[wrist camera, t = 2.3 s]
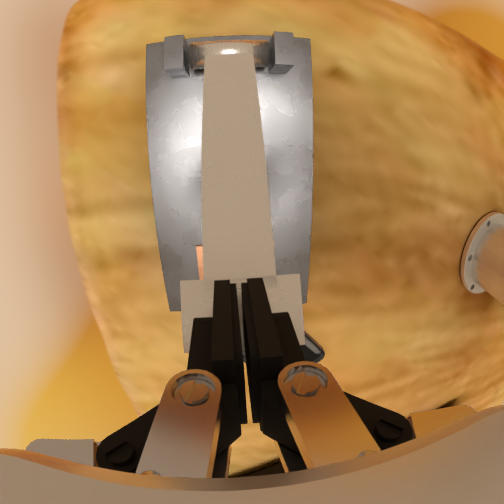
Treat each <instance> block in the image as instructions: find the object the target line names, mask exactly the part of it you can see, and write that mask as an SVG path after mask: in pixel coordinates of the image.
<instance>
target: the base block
mask: <svg viewBox="0 0 504 504" xmlns="http://www.w3.org/2000/svg"><path fill="white" fill-rule="evenodd" d="M223 40H267V41H268V45H269V61H268V66H267V67H255V72H256V81H257V89H258V97H259V106H260V114H261V123H262V132H263V141H264V150H265V160H266V169H267V179H268V189H269V200H270V210H271V221H272V232H273V243H274V255H275V267H276V275H287V274H300V283H301V295H302V304H304V303H306V302H307V289H308V276H309V261H310V244H311V223H312V195H313V89H312V64H311V45H310V39H307V38H296V37H293V33H288V32H274V33H273V35H272V36H252V35H243V36H214V37H200V38H189V39H185V37H184V35H176V36H169V37H165V42H159V43H153V44H147V45H146V114H147V136H148V152H149V166H150V177H151V188H152V197H153V206H154V215H155V223H156V230H157V238H158V245H159V251H160V258H161V264H162V270H163V276H164V282H165V287H166V293H167V298H168V303H169V308H170V311H181V295H180V281H181V280H203V279H204V275H203V248H202V198H201V158H202V110H203V84H204V69H194V70H191V68H190V61H189V46H190V43H194V42H206V41H223Z"/></svg>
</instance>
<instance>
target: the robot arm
mask: <svg viewBox="0 0 504 504" xmlns="http://www.w3.org/2000/svg"><path fill="white" fill-rule="evenodd" d="M460 274H461V280H462V283H463V285H464V287H465V288H466V289H467V290H468V291H470V292H471V293H474V294H479V293H482V292H484V291H486V292H488V293H489V294H490V295H491V296H492V297H494V298H495V299H496V300H497V301H498V302H500V303H501V304H502V305H503V306H504V214H502V213H500V212H491V213H489V214H487V215H485V216H484V217H483V218H482V219H481V220H480V221H479V222H478V223H477V225H476V226H475V227H474V229H473V231H472V232H471V234H470V236H469V238H468V240H467V243H466V245H465V248H464V251H463V255H462V260H461V271H460ZM241 294H242V314H243V334H244V349H245V359H246V368H247V376H248V385H249V394H250V402H251V411H252V419H253V423H260V430H261V431H263V434H265V435H267V436H268V437H270V438H272V439H273V440H274V444H275V447H276V450H277V453H278V455H279V458H280V460H281V463H282V466H283V468H284V471H285V473H280V474H272V475H263V476H251V477H236V478H228V472H229V464H230V456H231V444H232V443H233V442H234V441H235V440H236V439H238V438H239V437H240V436H241V424H247V409H246V394H245V378H244V363H243V351H242V341H241V330H240V320H239V309H238V298H237V287H236V283H231V284H230V280H214V296H213V317H201V318H194V319H193V326H192V334H191V342H190V350H189V358H188V367H187V370H186V371H182V372H180V373H178V374H176V375H174V376H173V377H172V378H171V379H170V380H169V382H168V383H167V385H166V387H165V390H164V393H163V395H162V398H161V401H160V404H159V405H157V406H156V407H154V408H153V409H151V410H150V411H148V412H146V413H145V414H143V415H142V416H140V417H139V418H137V419H136V420H134V421H132V422H131V423H129V424H128V425H126V426H124V427H123V428H121V429H119V430H118V431H116V432H114V433H113V434H111V435H109V436H108V437H106V438H105V439H104V440H103V441H101V442H95V441H94V439H84V440H62V439H61V440H60V439H37V440H34V441H33V442H31V443H30V444H29V445H28V446H27V447H26V450H20V449H4V448H2V449H0V504H504V405H500V406H495V407H491V408H487V409H484V410H481V411H479V412H476V411H475V410H474V409H473V408H472V407H470V406H467V405H456V406H452V407H446V408H441V409H435V410H429V411H422V412H415V413H410V414H409V416H408V417H404V416H402V415H400V414H398V413H396V412H394V411H391V410H388V409H386V408H383V407H380V406H378V405H375V404H373V403H370V402H368V401H365V400H363V399H360V398H358V397H355V396H353V395H351V394H348V393H346V392H344V391H342V389H341V387H340V386H339V384H338V383H337V381H336V380H335V378H334V377H333V375H332V373H331V372H330V371H329V370H328V369H327V368H326V367H324V366H322V365H321V364H318V363H315V362H309V361H305V358H304V356H303V353H302V350H301V347H300V344H299V341H298V338H297V335H296V332H295V329H294V326H293V324H292V321H291V318H290V315H289V313H288V312H279V313H272V311H271V308H270V304H269V300H268V296H267V292H266V289H265V285H264V281H263V278H247V283H241Z"/></svg>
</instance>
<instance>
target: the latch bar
mask: <svg viewBox="0 0 504 504" xmlns="http://www.w3.org/2000/svg"><path fill="white" fill-rule="evenodd" d="M189 61H190V68H191V70H194V69H204V84H203V110H202V158H201V198H202V248H203V275H204V279H203V280H181V281H180V295H181V315H182V332H183V346H184V353H189V350H190V342H191V334H192V326H193V319H194V318H201V317H213V296H214V280H230V284H231V283H236V287H237V298H238V309H239V320H240V330H241V341H242V350H245V349H244V334H243V314H242V294H241V283H247V278H263V281H264V285H265V289H266V292H267V296H268V300H269V304H270V308H271V311H272V313H279V312H288V313H289V315H290V318H291V321H292V324H293V326H294V329H295V332H296V335H297V338H298V341H299V344H300V345H305V334H304V320H303V307H302V295H301V283H300V274H287V275H276V267H275V255H274V243H273V232H272V221H271V210H270V200H269V189H268V179H267V169H266V160H265V150H264V141H263V132H262V123H261V114H260V106H259V97H258V89H257V81H256V72H255V67H267V66H268V61H269V45H268V41H267V40H223V41H206V42H194V43H190V46H189Z"/></svg>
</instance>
